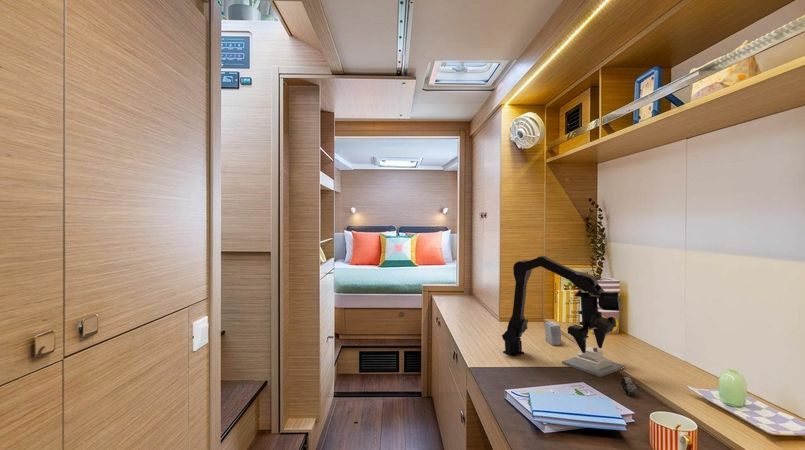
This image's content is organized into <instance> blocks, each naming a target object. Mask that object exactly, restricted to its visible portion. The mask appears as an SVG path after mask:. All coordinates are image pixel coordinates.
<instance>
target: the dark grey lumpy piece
mask: <svg viewBox="0 0 805 450" xmlns="http://www.w3.org/2000/svg"><path fill="white" fill-rule="evenodd" d="M627 387H628V388H627ZM620 388H621V390H622V391H623V394H625V395H626V396H632V395H636V394H637V392H638V389H637V386H636V384H635V383H633V381H632V380H631V378H630V377H629V376H627V377H626V376H624V377H622V378H621V379H620Z"/></svg>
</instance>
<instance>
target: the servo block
mask: <svg viewBox="0 0 805 450" xmlns="http://www.w3.org/2000/svg"><path fill="white" fill-rule="evenodd" d="M603 353H604V351H603V350H601V349H598V348H597V347H590V346H587V347H586V352H585V353H583V352H582V351H581V350H580V352H577V353H576V356H581V357H582V358H584V359H587V360H590V361H593V362H599V363H602V362H606V361H608V359H609V358H607V357H604V354H603Z"/></svg>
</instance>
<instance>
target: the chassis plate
mask: <svg viewBox="0 0 805 450" xmlns="http://www.w3.org/2000/svg"><path fill="white" fill-rule="evenodd" d="M561 364H562V365H564V366H567V367H570V368H573V369H576V370H579V371H581V372H585V373H587V374H590V375H593V376H596V377H598V378H602V377H605V376H607V375H610V374H612V373H613V374H614V373H616V372H618V371H621V370H620V369H621V368H623V367H625V368H626V366H625V365H624V364H621V363H617V362H614V361H612V359H610V358H608V361H606V362H602V363H599V362H593V361H590V360H587V359H584V358H582V357H581V356H577V355H574V356H573V357H572V358H568V359H565V360H562V361H561Z"/></svg>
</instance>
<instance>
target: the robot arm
mask: <svg viewBox="0 0 805 450" xmlns="http://www.w3.org/2000/svg"><path fill="white" fill-rule="evenodd" d="M540 267H541V268H543V269H545V270H547V271H550V272H551V273H554V274H555V275H558V276H560V277H562V278H563V279H566V280H568V281H569V282H571V283H572V284H573V285H574V286H575V287H576V288H578V289H579V290H578V291H577V292H576V293H575V294H574V297H577V298H580V310H579V311H578V315H581V321H579V324H573V325H569V326H568V327H567V334H568V335H570V336H571V337H573V339H574V340H575V342H576V344H577V345H578V347H579V349H580V352H581V351H582V352H583V353H585V352H586V346H587V339H588V338H589V335H588V334H589V331H593V334H594V337H595V340H596V344H597V347H598V349H602V348H603V345H604V341H605V339H606V335H607V334H608V333H613V330H614V329H615V328H616V327H617V321H616V320H617V319H616V317H614V316H609V317H604V316H603V314H602V311H599V308H600V309H602V310H603V311H614V312H620V311H621V310H622V309H621V308H622V300H621V297H620V292H619V291H605V290H604V289H603V287H601V285H600V284H599V282H598V279H597V277H596V276H594V274H589V273H587V272H582V271H577V270H574V269H573V268H570V267H568V266H566V265H564V264H562V263H559V262H557V261H555V260H553V259H551V258H549V257H547V256H545V255H540V256H538V257H536V258H533V259H530V260H527V259H522V260H520V261H516V262H515V263H514V264H513V266H512V269H513V270H512V272H513V278H514V281H515V285H514V296H513V307H512V315H511V317H510V319H509V321H508V324H507V326H506V331H505V332H504V333H503V334H502V335H501V337H502V339H503V341H504V349H505V350H503V351H502V353H504V354H506V355H508V356H511V357H515V356H520V355H523V354H525V351H523V345H522V340H521V339H522V338H521V337H522V336H523V335H524V333H525V332H526V330H528V323H529V319H526V317H525V316H524V314H525V304H526V295H527V285H528V281H529V279H530V277H531V274H532V271H533V270H534V269H537V268H540Z"/></svg>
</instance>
